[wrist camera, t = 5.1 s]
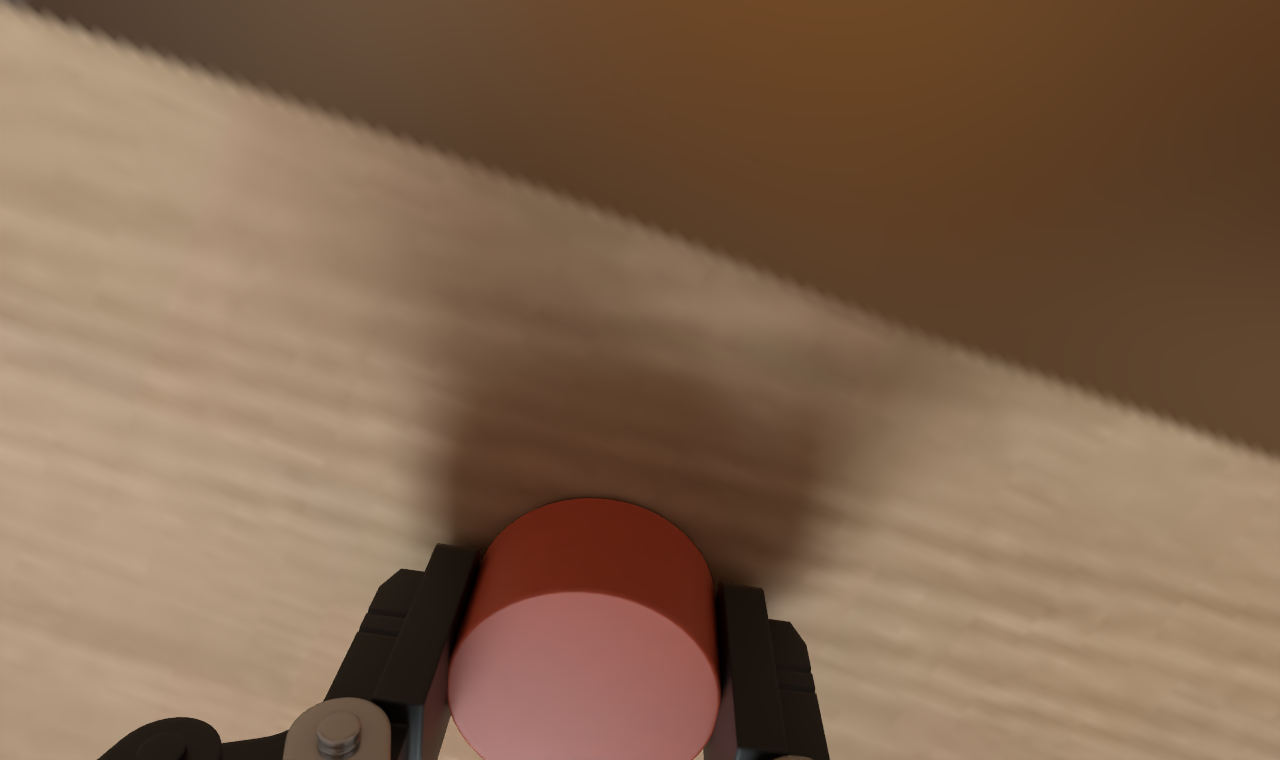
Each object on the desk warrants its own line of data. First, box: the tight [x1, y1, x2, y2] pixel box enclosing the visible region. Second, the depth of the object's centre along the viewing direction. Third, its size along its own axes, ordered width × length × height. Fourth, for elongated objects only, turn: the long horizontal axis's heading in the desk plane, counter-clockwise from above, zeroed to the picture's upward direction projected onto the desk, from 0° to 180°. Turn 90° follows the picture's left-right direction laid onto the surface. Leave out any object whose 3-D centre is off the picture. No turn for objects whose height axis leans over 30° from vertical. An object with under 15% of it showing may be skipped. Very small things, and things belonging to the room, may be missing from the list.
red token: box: [447, 498, 722, 760], centre depth 14 cm, size 4×4×2 cm
